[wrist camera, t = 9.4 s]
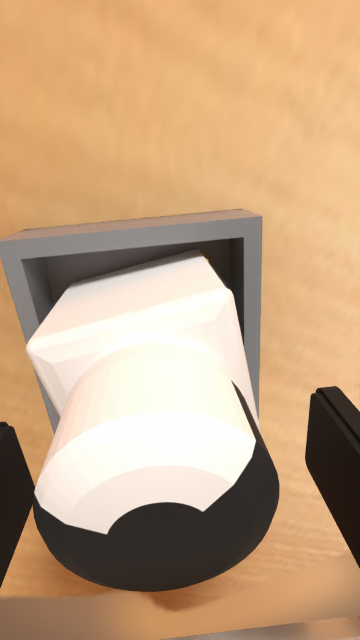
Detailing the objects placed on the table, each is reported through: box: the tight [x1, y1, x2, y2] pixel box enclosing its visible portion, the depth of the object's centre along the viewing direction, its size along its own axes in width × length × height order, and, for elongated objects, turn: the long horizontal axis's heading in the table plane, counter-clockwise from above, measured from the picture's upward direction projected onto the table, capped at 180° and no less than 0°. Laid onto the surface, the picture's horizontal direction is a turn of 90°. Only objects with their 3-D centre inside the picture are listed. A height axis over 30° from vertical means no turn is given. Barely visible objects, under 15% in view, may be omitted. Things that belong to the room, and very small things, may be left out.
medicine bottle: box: [26, 249, 279, 592], centre depth 13 cm, size 7×7×12 cm
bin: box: [0, 209, 262, 435], centre depth 17 cm, size 11×11×4 cm
